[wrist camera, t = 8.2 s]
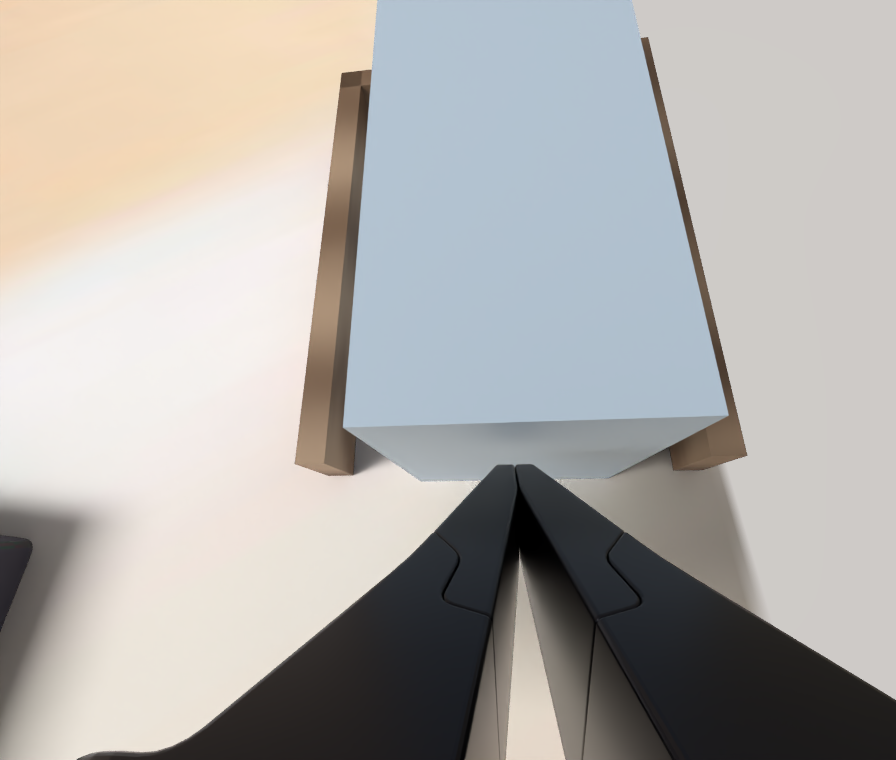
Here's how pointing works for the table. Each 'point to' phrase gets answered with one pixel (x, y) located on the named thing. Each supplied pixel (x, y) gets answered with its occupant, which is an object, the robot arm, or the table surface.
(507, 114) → the slate box
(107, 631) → the table surface
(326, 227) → the frame
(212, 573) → the table surface
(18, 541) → the calculator
